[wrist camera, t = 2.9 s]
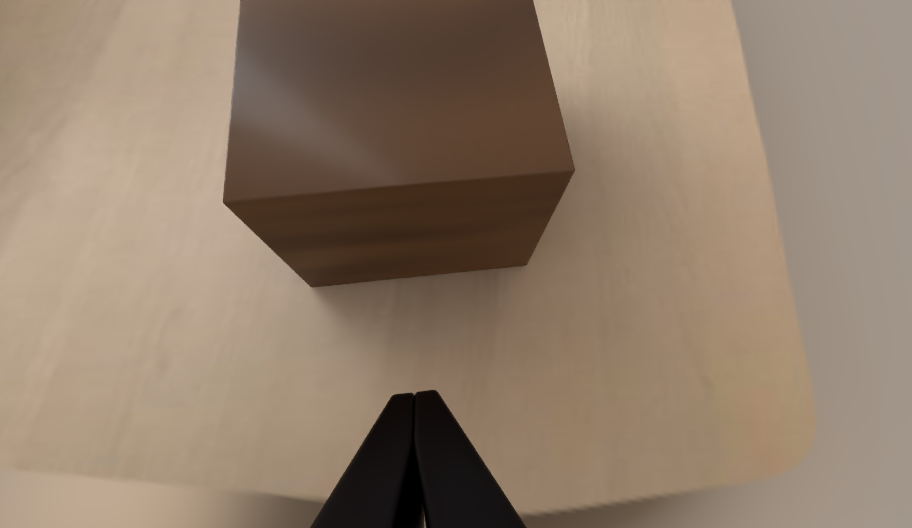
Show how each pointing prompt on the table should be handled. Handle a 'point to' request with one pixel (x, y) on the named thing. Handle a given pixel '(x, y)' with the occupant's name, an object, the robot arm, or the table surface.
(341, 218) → the box
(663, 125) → the table surface
